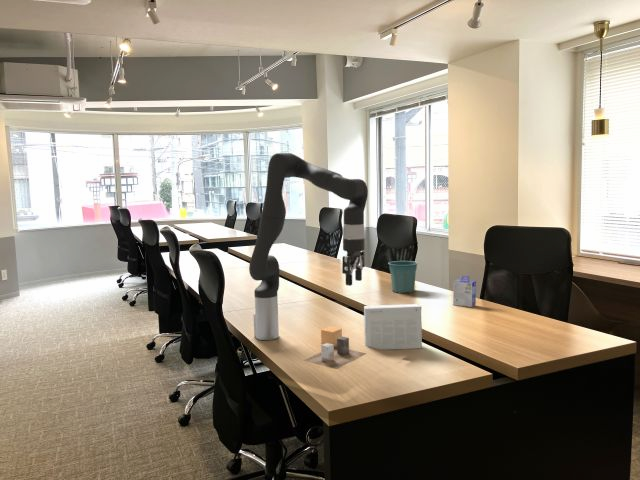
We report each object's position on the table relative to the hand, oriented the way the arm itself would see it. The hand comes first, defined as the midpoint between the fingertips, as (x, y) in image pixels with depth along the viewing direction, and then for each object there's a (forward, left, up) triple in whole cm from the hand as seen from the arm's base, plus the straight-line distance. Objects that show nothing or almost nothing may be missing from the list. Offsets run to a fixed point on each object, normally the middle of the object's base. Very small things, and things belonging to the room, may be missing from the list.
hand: (353, 282), depth 178 cm
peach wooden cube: (-13, +4, -27) cm, 30 cm away
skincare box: (+6, +17, -27) cm, 33 cm away
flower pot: (-38, +104, -27) cm, 114 cm away
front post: (-3, -12, -25) cm, 28 cm away
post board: (-3, -7, -27) cm, 28 cm away
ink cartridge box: (+3, +92, -27) cm, 96 cm away
